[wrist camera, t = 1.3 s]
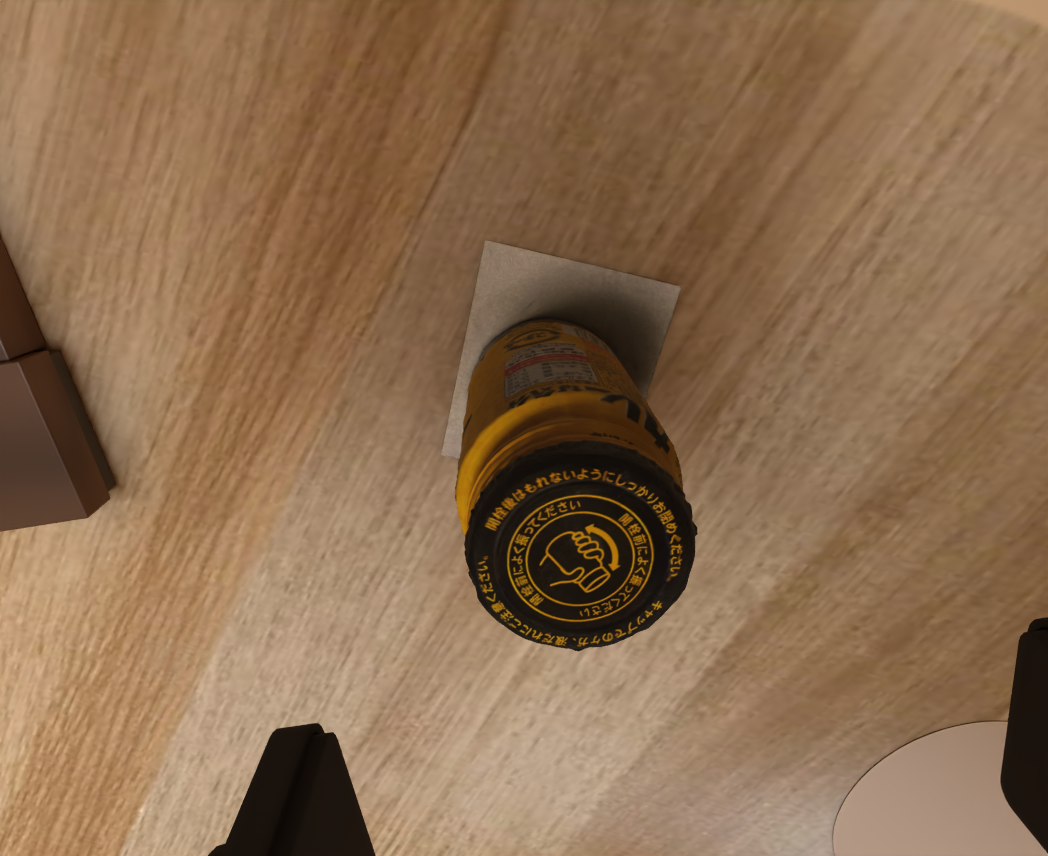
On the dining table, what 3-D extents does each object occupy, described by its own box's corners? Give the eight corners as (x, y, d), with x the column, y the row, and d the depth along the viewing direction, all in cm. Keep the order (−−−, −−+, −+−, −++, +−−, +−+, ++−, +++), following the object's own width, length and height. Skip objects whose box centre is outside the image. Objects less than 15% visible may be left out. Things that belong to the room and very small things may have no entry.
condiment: (441, 453, 26) (402, 659, 15) (485, 239, 24) (476, 300, 12) (616, 487, 27) (699, 705, 16) (679, 284, 24) (834, 381, 13)
